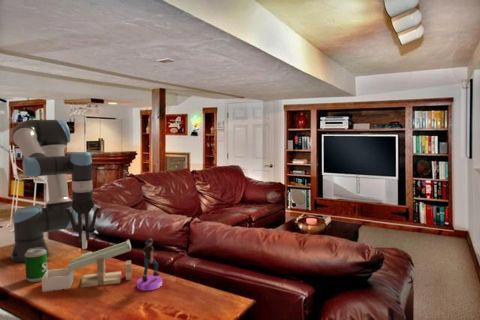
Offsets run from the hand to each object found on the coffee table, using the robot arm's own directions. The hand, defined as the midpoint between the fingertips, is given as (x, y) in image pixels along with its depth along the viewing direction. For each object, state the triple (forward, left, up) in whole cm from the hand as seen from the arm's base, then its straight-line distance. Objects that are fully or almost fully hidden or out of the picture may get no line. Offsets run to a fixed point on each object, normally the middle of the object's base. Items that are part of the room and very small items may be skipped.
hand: (84, 247), depth 145 cm
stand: (+9, +9, -11) cm, 17 cm away
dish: (+9, -8, -11) cm, 16 cm away
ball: (+9, -7, -9) cm, 14 cm away
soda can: (0, -18, -11) cm, 21 cm away
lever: (+4, +7, -2) cm, 9 cm away
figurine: (+18, +25, -11) cm, 33 cm away
